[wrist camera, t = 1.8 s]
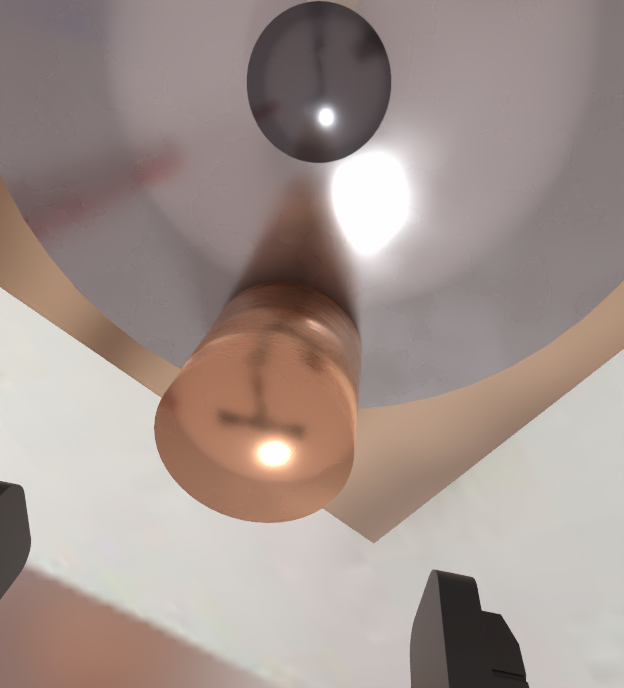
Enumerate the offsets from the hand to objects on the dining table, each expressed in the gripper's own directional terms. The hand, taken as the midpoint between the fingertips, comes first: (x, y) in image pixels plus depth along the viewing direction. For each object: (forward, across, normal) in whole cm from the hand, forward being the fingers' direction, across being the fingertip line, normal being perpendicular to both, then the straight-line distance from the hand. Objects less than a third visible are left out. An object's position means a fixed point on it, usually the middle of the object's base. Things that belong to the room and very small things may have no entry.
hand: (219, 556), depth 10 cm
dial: (+10, 0, -8) cm, 13 cm away
